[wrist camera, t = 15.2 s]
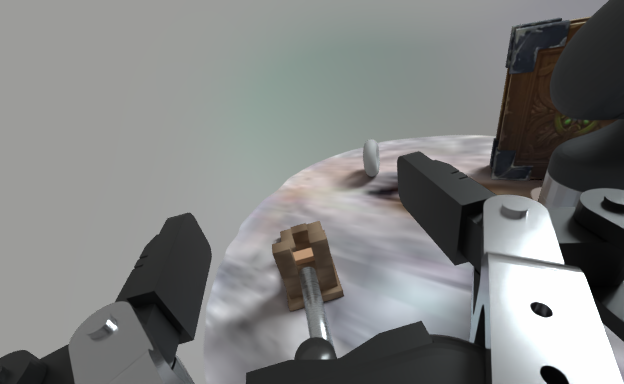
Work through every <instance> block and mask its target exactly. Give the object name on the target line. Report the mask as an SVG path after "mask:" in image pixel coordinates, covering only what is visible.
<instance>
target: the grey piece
mask: <svg viewBox="0 0 624 384" xmlns="http://www.w3.org/2000/svg"><path fill="white" fill-rule="evenodd" d="M299 276H300V282H301V287H302V293H303V299H304V305H305V311H306V317H307V323H308V329H309V335H310V338H309V339H307V340H306V341H304V342H303V343H302V344H301V345H300V346H299V347H298V349H297V351H296V354H295V358H294V360H320V359H337V357H336V354H335V349H334V345H333V341H332V337H331V333H330V329H329V325H328V321H327V316H326V312H325V308H324V304H323V300H322V296H321V292H320V288H319V284H318V279H317V275H316V271H315V269H314V268H312V267H305V268H303V269H301V270H300V272H299Z"/></svg>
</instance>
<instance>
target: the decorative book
mask: <svg viewBox="0 0 624 384" xmlns="http://www.w3.org/2000/svg"><path fill="white" fill-rule="evenodd" d="M591 17H592V16H591ZM591 17H585V18H580V19H574V20H566V21H562V18H556V19H550V20H544V21H539V22H533V23H527V24H522V25H517V26H512V31H511V37H510V43H509V49H508V55H507V61H506V68H508V69H507V75H506V81H505V87H504V93H503V99H502V105H501V111H500V117H499V123H498V129H497V135H496V138H494V141H493V147H492V153H491V159H490V168H492V173H491V179H497V180H522V181H530V179H544V178H545V175H546V171H547V168H548V165H549V161H550V158H551V155H552V153H553V151H554V150H555V149H556V148H557V147H558V146H559V145H560V144H562V143H564V142H566V141H568V140H570V139H573V138H576V137H579V136H582V135H585V134H588V133H591V132H594V131H597V130H599V129H601V128H604V127H606V126H608V125H610V124H611V123H613V122H615V121H617V120H618V119H616V120H594V121H590V120H579V119H574V118H570V117H567V116H565V115H563V114H562V113H560V112H559V111H558V110H557V109H556V108H555V106H554V104H553V103H552V100H551V97H550V81H551V76H552V73H553V70H554V67H555V65H556V63H557V61H558V59H559V57H560V55H561V53H562V51H563V50H564V48H565V47H566V45H567V44H568V42H569V41H570V40H571V38H572V37H573V36H574V35H575V33H576V32H577V31H578V30H579V29H580V28H581V27H582V26H583V25H584V24H585V23H586V21H587V20H588V19H590V18H591Z"/></svg>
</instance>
